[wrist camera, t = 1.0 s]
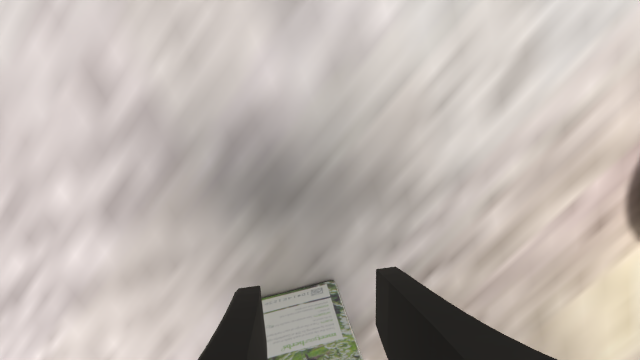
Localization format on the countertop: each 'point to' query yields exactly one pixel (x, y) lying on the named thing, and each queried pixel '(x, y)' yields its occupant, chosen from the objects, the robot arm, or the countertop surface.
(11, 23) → the countertop surface
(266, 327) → the syrup box
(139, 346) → the countertop surface
